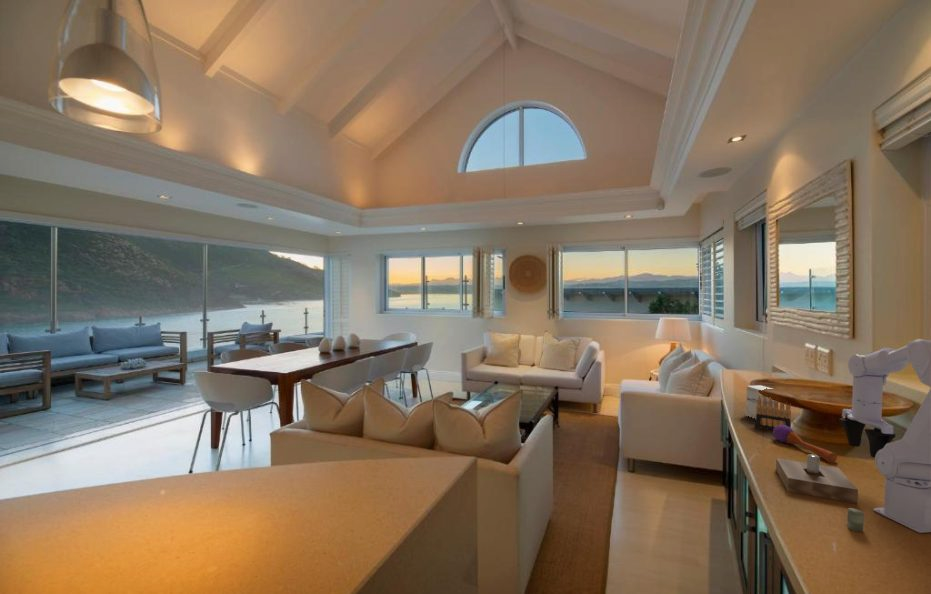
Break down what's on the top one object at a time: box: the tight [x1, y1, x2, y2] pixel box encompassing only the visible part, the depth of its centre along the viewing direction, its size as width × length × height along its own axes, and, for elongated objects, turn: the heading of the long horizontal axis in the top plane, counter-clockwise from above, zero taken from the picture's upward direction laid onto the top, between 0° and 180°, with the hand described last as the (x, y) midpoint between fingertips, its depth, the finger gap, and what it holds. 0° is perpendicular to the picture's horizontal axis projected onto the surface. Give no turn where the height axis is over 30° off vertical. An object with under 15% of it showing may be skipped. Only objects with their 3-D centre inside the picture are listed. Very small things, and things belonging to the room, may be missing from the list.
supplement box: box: [745, 385, 775, 420], centre depth 171 cm, size 7×7×13 cm
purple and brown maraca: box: [772, 424, 838, 463], centre depth 139 cm, size 6×6×20 cm
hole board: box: [775, 457, 859, 504], centre depth 114 cm, size 14×14×4 cm
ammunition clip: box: [754, 396, 792, 430], centre depth 158 cm, size 11×2×12 cm, turn 54°
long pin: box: [806, 453, 821, 476], centre depth 114 cm, size 3×3×8 cm
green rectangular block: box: [846, 507, 865, 533], centre depth 94 cm, size 3×3×4 cm
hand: (865, 451), depth 112 cm, fingers open, 7 cm apart
